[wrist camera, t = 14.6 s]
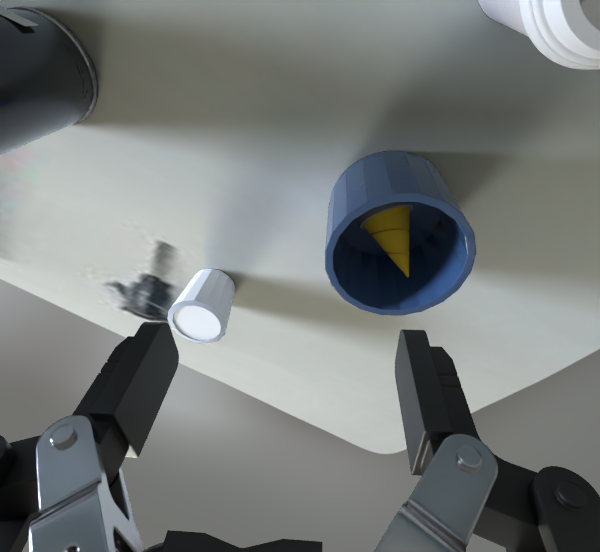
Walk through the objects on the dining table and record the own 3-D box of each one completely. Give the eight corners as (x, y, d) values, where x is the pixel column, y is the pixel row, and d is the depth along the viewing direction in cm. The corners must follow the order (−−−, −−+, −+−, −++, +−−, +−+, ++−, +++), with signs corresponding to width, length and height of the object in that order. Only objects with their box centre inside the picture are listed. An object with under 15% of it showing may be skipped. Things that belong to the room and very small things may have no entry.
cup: (329, 256, 43) (325, 313, 35) (328, 151, 36) (324, 193, 28) (436, 257, 42) (458, 317, 34) (458, 149, 34) (493, 192, 26)
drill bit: (410, 168, 36) (448, 264, 34) (375, 196, 40) (406, 281, 38) (371, 167, 33) (410, 272, 31) (337, 197, 37) (369, 290, 35)
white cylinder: (240, 308, 49) (227, 347, 44) (191, 303, 50) (171, 341, 44) (239, 267, 45) (224, 304, 40) (184, 261, 45) (162, 297, 40)
